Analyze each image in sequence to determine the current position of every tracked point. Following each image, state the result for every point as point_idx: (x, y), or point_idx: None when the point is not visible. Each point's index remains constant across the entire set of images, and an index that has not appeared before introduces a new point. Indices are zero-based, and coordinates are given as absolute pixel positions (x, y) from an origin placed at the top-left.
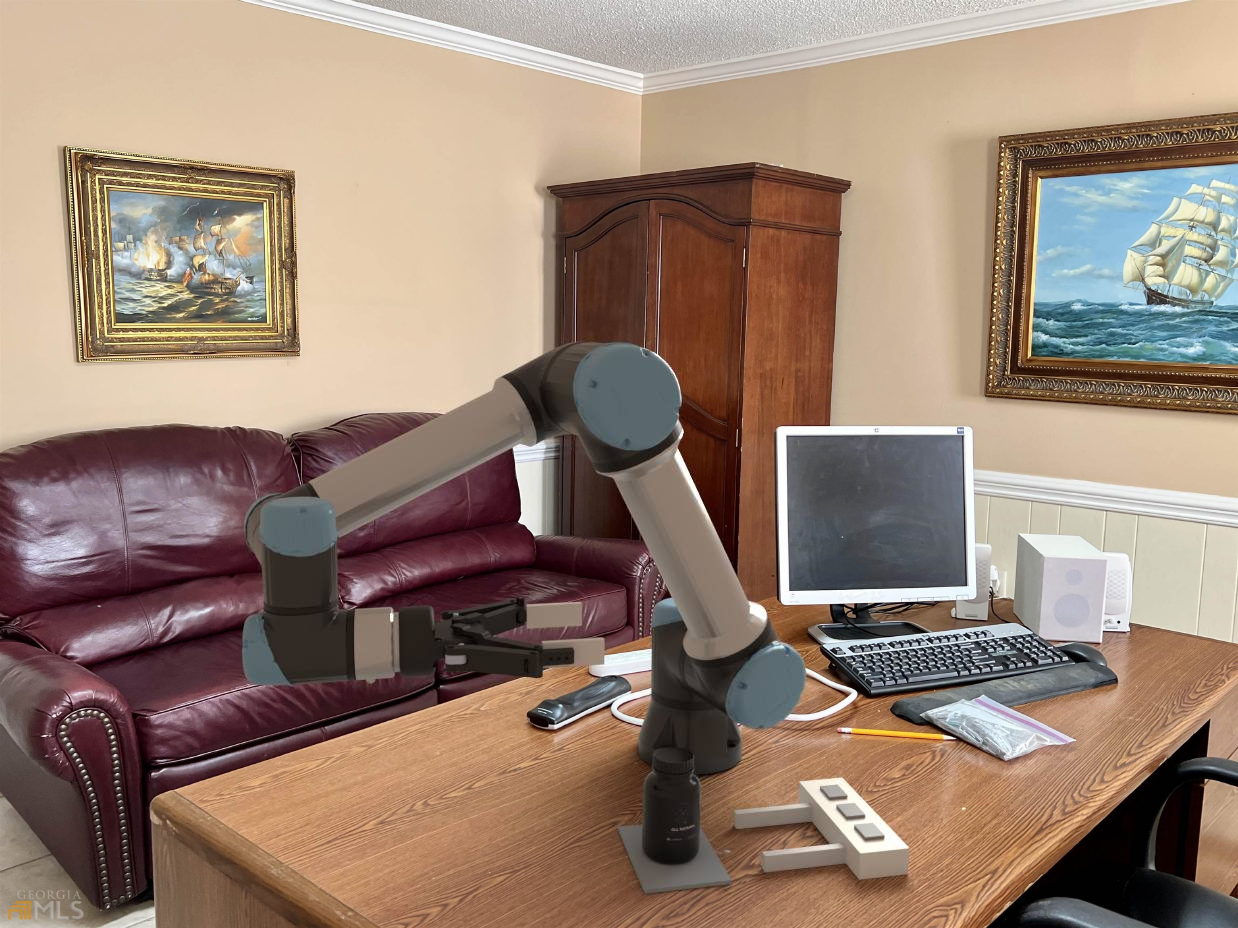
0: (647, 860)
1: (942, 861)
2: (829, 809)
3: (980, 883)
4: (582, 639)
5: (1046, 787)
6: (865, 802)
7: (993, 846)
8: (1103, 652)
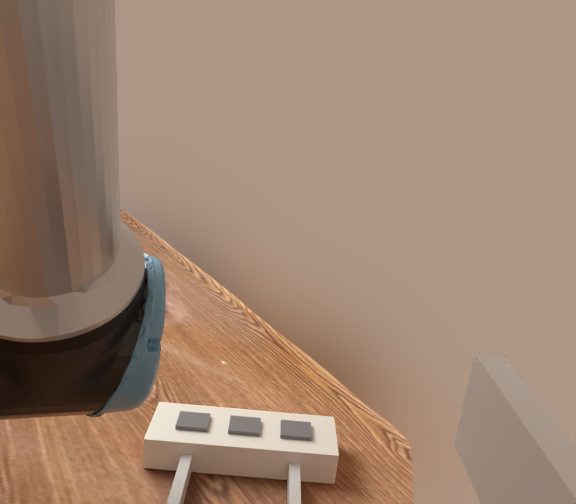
0: None
1: (311, 412)
2: (229, 441)
3: (353, 406)
4: (521, 407)
5: (214, 315)
6: (227, 408)
7: (294, 375)
8: None
